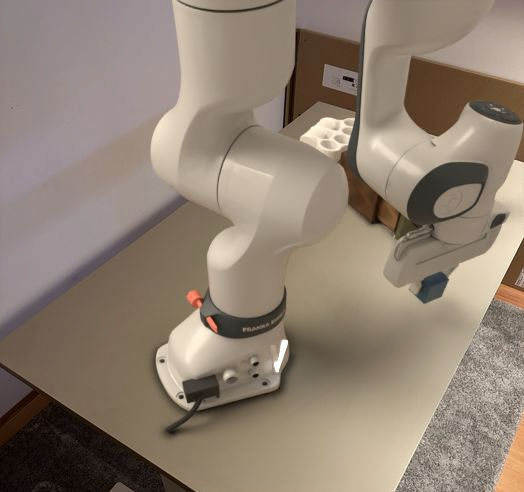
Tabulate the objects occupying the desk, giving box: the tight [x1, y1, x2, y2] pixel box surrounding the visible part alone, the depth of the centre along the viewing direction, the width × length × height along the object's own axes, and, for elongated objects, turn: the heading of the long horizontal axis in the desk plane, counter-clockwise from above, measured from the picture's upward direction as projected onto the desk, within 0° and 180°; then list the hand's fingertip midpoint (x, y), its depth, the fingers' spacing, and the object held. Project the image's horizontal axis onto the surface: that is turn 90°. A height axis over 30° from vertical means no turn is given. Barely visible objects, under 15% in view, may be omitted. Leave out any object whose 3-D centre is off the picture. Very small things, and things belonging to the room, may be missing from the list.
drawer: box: [375, 196, 423, 242], centre depth 104 cm, size 17×11×8 cm
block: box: [408, 272, 450, 305], centre depth 85 cm, size 4×4×4 cm
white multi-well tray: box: [299, 117, 355, 163], centre depth 127 cm, size 3×18×15 cm
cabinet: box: [339, 151, 381, 224], centre depth 110 cm, size 14×13×10 cm
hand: (427, 286), depth 85 cm, fingers closed on block, 4 cm apart
